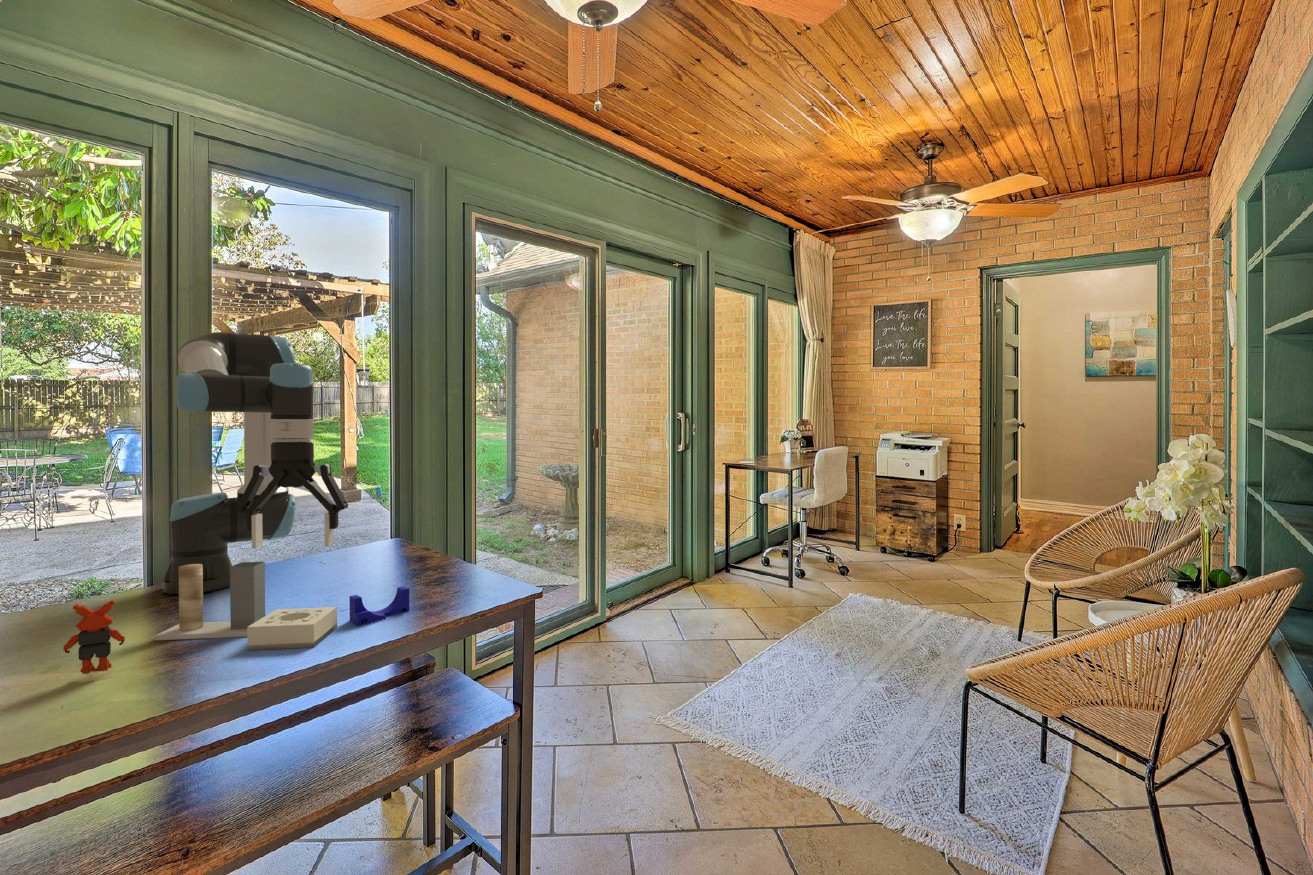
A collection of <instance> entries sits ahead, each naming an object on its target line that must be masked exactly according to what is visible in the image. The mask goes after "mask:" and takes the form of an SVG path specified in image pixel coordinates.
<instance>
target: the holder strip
mask: <svg viewBox="0 0 1313 875" xmlns="http://www.w3.org/2000/svg"><path fill="white" fill-rule="evenodd" d="M239 637H240V638H242V637H247V629H237V630H231V620H230V621H229V620H228V621H209V622H207V621H206V622H205V621H203V627H202V628H200V629H197V630H193V631H180V630H179V623H178V624H176V625H173V626H172V627H169V628H168V629H166V630H163V631H162V632H159V633H158V634H156V635H155V636H154V641H172V640H173V641H174V640H196V639H217V638H239Z"/></svg>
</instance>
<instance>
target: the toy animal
mask: <svg viewBox="0 0 1313 875" xmlns="http://www.w3.org/2000/svg"><path fill="white" fill-rule="evenodd" d="M115 604H116V600H115V599H111V600H109V601H107V602H105V603H104V604H103V605H102V606H100V608H99V609H96V610H92V609H91V608H89V607H87V606H86V605H84V604H83V605H82V604H81V605H80V604H79V603H75V604H74V605H73V606H72V609H73V610H74V611H75V614H77V615H80V616H81V617H82V618H81V620H79V621H78V622H77V624H75V628H76V629H77V630H78V631H79V633H77V634H74V635H71V636H70V639H68V641H67V642H66V644H63V646H62V647H63V651H64V653H66V654H70V652H71V650H70V649H72V648H73V647H74V646H75V645H76V644H77V643H78V644H77V645H78V646H79V648H78V651H77V652H78V660H79V661H81V662H82V663H81V668H80V673H81V674H82V675H88V674H91V673H92V672H93V671H96V669H97V670H98V672H105V671H107V670H108V669H110V668H111V667H112V663H111V662H110V660H109V659H108V658H109V657H108V656H110V654H111V653H112V652H111V651H112V648H111V647H112V646H111V645H112V644H111V643H112V641H111V640H110V639H111V638H112V639H113V640H116V641H117V642H119V644H118V645H119V646H122V645H123V644H124V642H125V641H126V636H124V635H122V633H120V632H119V630H117V629H113V628H111V627H110V625H111V624H112V623H113V622H114V618H113V617H112V616H110V615H109V614H108V613H109V611H110V610H111V609H113V607H114V605H115ZM94 656H95V658H96V659H98V665H97V667H96V666H95V665H93V662H92V659H93V658H94Z"/></svg>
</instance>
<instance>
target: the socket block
mask: <svg viewBox="0 0 1313 875" xmlns="http://www.w3.org/2000/svg"><path fill="white" fill-rule="evenodd" d="M337 628H338V607H337V606H331V607H330V606H329V607H328V606H327V607H326V606H325V607H304V608H302V607H300V608H280V609H279V608H278V609H275V610H273V611H272V612H270V613H268V614H265V617H263V618H261V619H260V620H258V621H256V622H255V623H253V624H251V625H250V626H248V627H247V636H246V638H247V640H246V641H247V642H246V643H247V644H246V645H247V651H263V650H264V651H266V650H286V649H304V648H305V649H307V648H316V646H318V645H319V644H320V643H321V642H322V641H324V639H326V638H327V637H328V636H330V635H331V634H332V633H333V632H334V631H335V630H336V629H337Z"/></svg>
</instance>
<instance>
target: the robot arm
mask: <svg viewBox="0 0 1313 875" xmlns="http://www.w3.org/2000/svg"><path fill="white" fill-rule="evenodd" d="M295 356H296V355H295V352H294V349H293V345H292V343H291V341H290V340H289V339H287V338H286V337H281V336H275V335H270V334H268V335H266V334H252V333H251V334H250V333H238V332H237V333H236V332H226V331H216V332H208V333H203V334H200V335H197V336H194V337H193V338H191V339H189V340H187V341H186V342H185V343H184V344H182V346H181V347H180V349H179V350H178V353H177V360H178V365H179V368H180V369H181V370H182V372H183V373H179V374H178V375H177V376H176V380H175V381H176V389H175V390H176V407H177V409H179V410H180V411H184V412H196V413H208V412H209V413H222V412H223V413H239V412H240V413H243V414H244V416H243V422H244V423H243V429H244V430H243V431H244V432H243V435H244V436H243V445H244V447H243V450H244V451H243V459H244V460H243V463H244V465H243V470H244V471H243V485H242V486H240V487H239V488H238V489H237V491H236V494H237V495H236V497H229V495H228V494H227V493H226V492H214V493H213V492H211V493H207V494H206V493H205V494H200V495H194V496H189V497H185V498H180V499H177V500H175V501H174V502H173V503H172V504H171V507H170V518H169V522H170V562H169V564H168V567H167V569H166V572H165V575H164V577H163V581H162V584H161V585H162V586H161V587H162V593H163V594H164V593H165V594H170V595H179V567H180V566H183V565H190V564H202V565H203V593H207V592H212V591H217V590H222V589H225V588H230V567H231V566H233V564H232V562H231V559H230V557H229V553H228V552H229V550H228V548H229V547H228V544H230V543H242V542H251V549H257V548H260V547H263V546H264V545H263V542H264V541H263V540H268V541H270V540H271V541H272V539H279V538H284V537H287V536H288V535H289V534H290V532H291V531H292V529H293V526H294V520H295V514H296V498H295V495H294V494H292V493H289V488H291V487H292V488H302V487H303V488H305V490H307V491H309V492H310V493H311V495H312V496H313V497H314V498H315V499H316V500H317V501H318V502H319V503H320V504H321V506H322V507H324V509H326V510H327V512H326V513H324V520H323V521H324V547H330V546H332V545H334V544H335V540H334V535H335V533H334V532H335V529H338V527H339V513H340V511H343V510H345V509H348V508H349V503H348V502H347V500H346V498H345V496H344V494H343V493H342V491H341V488H340V487H339V485H338V484H337V482H336V480H335V478H334V475H333V472H332V467H331V464H328V463H326V464H321V465H316V464H315V462H314V461H315V459H314V458H315V453H314V452H315V450H314V449H315V447H314V445H315V444H314V442H313V441H311V440H313V439H314V438H315V436H314V428H315V427H314V384H315V380H314V377H313V376H314V374H313V368H312V367H311V366H310V365H307V364H304V363H303V364H302V363H297V362H296V357H295ZM315 473H317V475H318V476H320V477H321V480H322V481H323V483H324V485H325V486H326V488H327V490H328V492H329V494H330V496H331V497H330V496H329V495H328V494H327V493H326V492H325V491H324V490H323V489H322V487H320V485H319V483H318V482H317V481H316V480H315V479H314V478H313V476H314V475H315ZM331 498H332V499H331Z"/></svg>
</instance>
